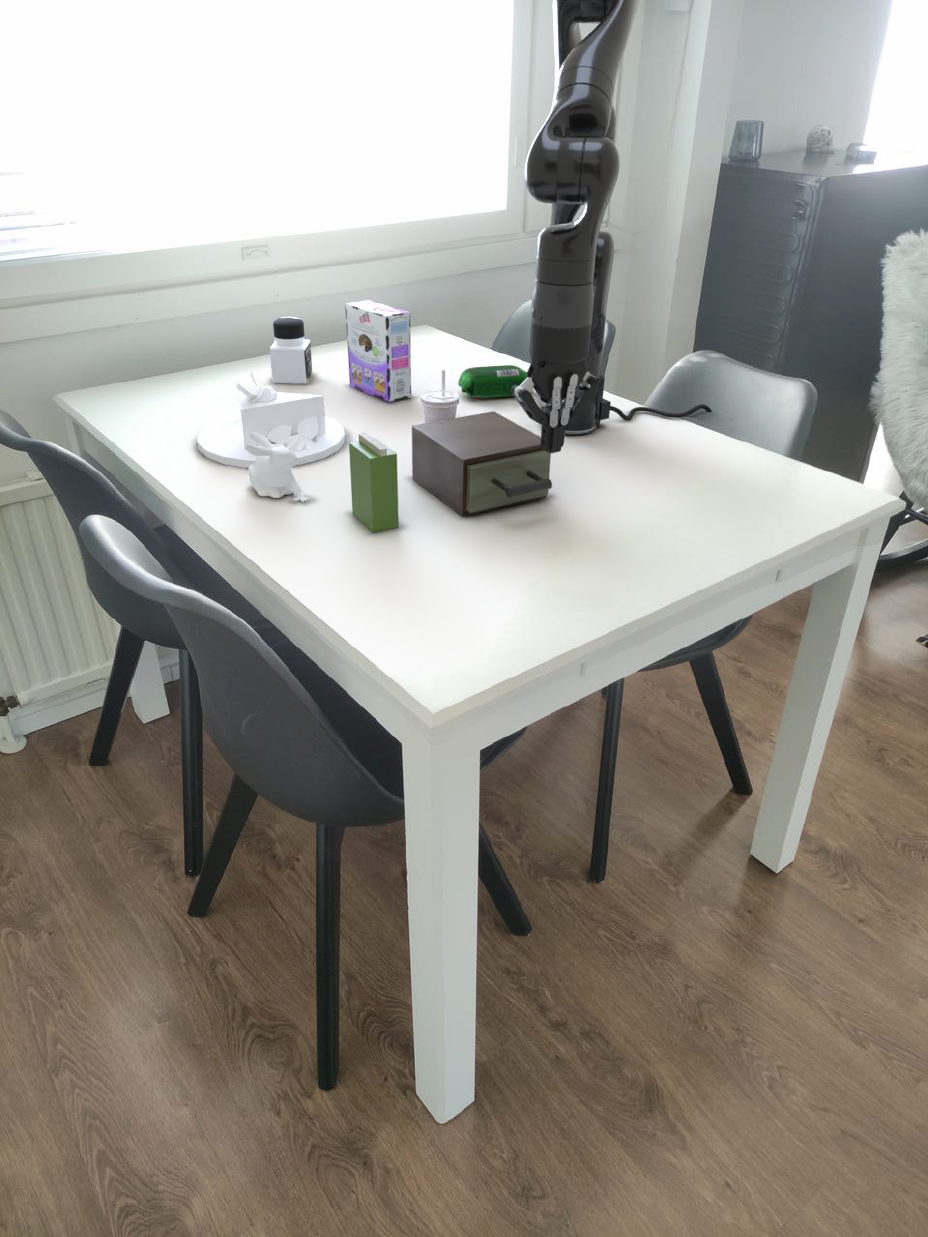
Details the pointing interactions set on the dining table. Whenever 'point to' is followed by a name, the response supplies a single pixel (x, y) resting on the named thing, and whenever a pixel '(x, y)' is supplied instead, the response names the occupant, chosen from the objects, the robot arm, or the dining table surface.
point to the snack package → (491, 381)
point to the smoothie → (439, 404)
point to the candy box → (379, 350)
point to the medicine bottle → (290, 352)
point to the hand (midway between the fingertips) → (551, 450)
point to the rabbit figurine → (273, 469)
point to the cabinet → (464, 453)
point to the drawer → (507, 480)
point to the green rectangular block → (374, 483)
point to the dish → (273, 427)
